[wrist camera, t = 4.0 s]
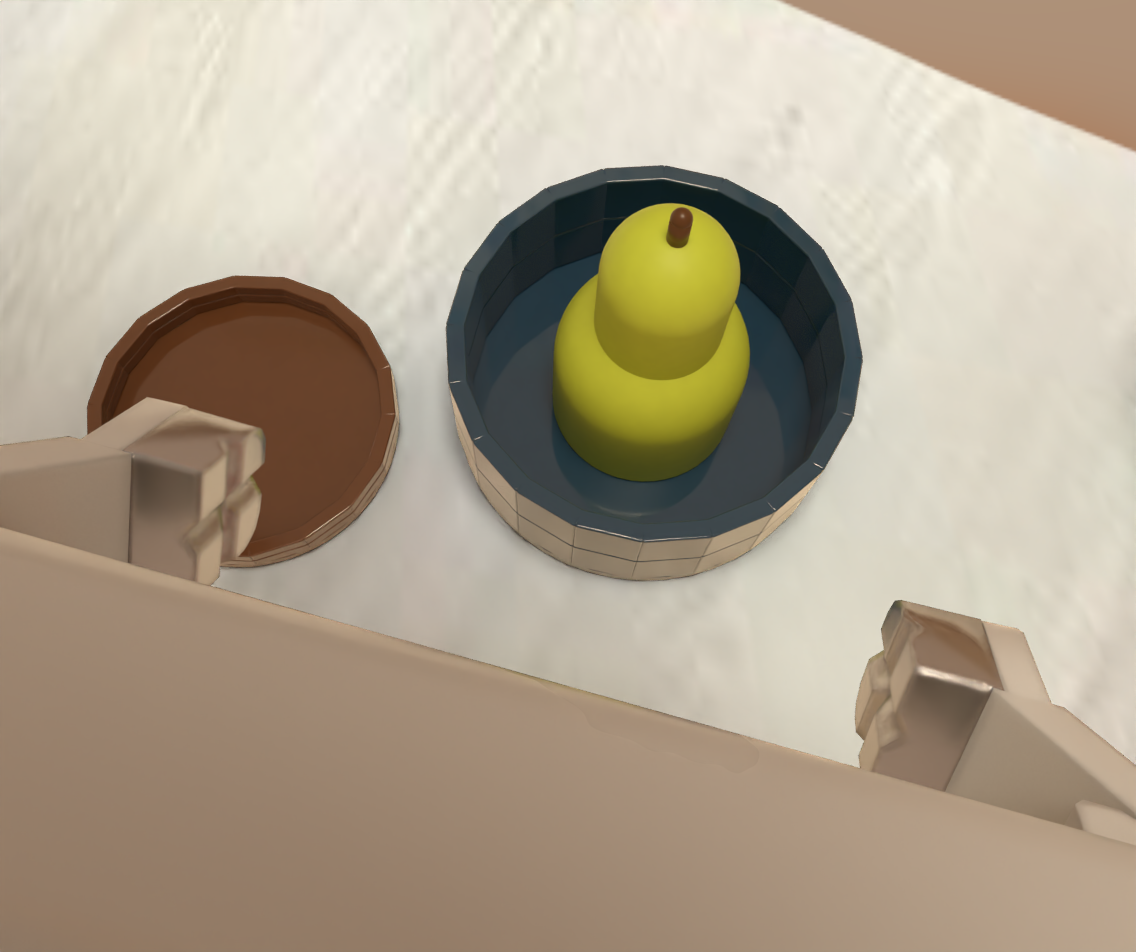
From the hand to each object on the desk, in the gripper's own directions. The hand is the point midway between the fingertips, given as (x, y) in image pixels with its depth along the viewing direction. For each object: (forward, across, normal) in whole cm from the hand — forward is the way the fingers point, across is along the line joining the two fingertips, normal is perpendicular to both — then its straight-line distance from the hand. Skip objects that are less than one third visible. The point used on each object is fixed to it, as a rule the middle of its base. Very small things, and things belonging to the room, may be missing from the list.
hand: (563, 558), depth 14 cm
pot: (+25, 0, +7) cm, 26 cm away
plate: (+22, +13, +11) cm, 27 cm away
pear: (+25, 0, +7) cm, 26 cm away
